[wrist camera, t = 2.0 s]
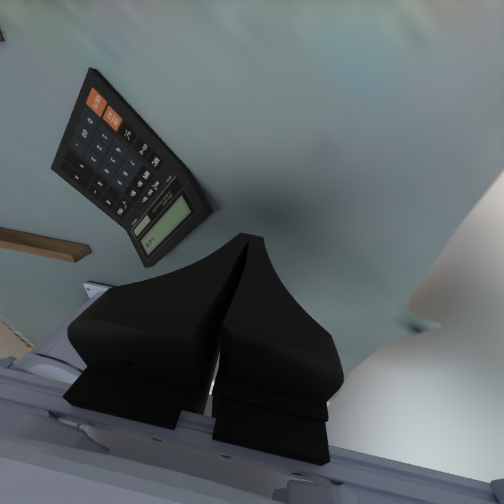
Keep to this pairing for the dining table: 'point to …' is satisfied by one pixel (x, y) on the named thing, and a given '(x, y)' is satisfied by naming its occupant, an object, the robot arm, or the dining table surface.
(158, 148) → the calculator
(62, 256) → the brown angled flat piece
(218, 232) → the dining table surface
